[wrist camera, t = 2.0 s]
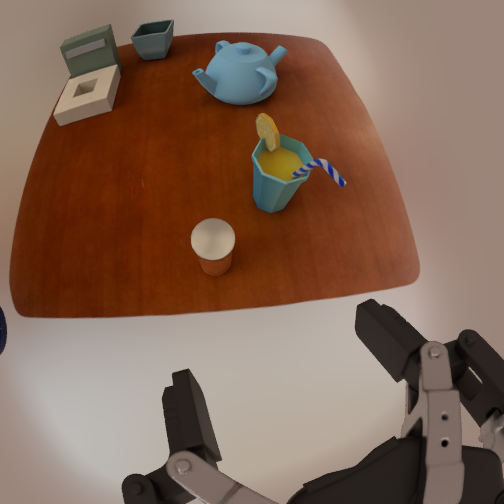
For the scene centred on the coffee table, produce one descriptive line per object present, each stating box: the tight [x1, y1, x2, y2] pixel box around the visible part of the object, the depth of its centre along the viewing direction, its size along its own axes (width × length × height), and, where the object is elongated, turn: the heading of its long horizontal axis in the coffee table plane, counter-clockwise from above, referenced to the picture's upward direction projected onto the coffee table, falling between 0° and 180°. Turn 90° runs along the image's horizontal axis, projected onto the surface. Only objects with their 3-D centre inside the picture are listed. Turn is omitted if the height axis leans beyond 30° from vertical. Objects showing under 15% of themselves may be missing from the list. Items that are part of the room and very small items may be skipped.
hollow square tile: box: [53, 65, 121, 126], centre depth 44 cm, size 13×13×4 cm
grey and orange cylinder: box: [191, 218, 235, 276], centre depth 34 cm, size 5×5×9 cm
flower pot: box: [131, 20, 174, 60], centre depth 47 cm, size 9×9×9 cm
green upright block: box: [60, 24, 122, 78], centre depth 41 cm, size 12×4×14 cm, turn 100°
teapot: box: [192, 41, 288, 105], centre depth 44 cm, size 15×17×11 cm
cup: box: [252, 113, 347, 213], centre depth 34 cm, size 14×8×15 cm, turn 46°
